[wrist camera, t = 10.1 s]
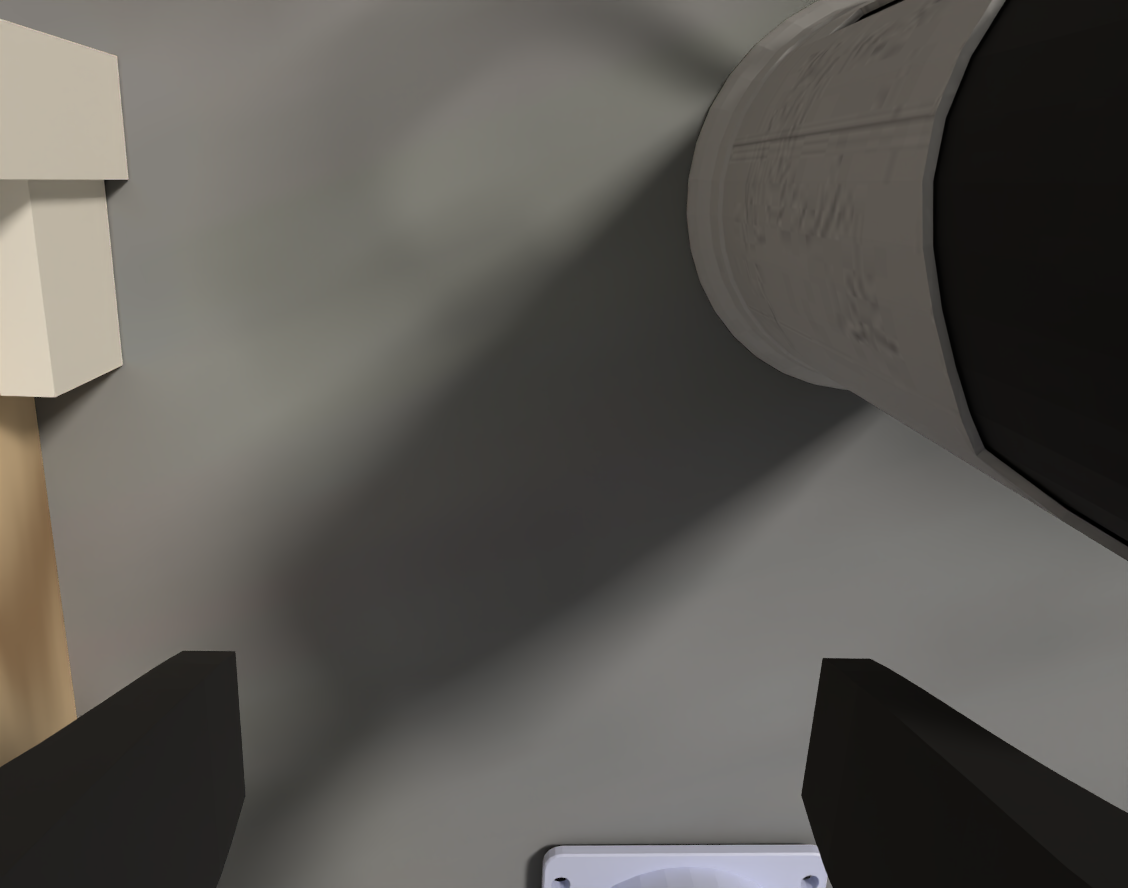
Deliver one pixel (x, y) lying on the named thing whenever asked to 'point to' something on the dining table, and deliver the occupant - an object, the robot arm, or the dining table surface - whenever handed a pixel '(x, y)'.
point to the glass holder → (938, 228)
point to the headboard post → (56, 212)
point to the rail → (28, 593)
